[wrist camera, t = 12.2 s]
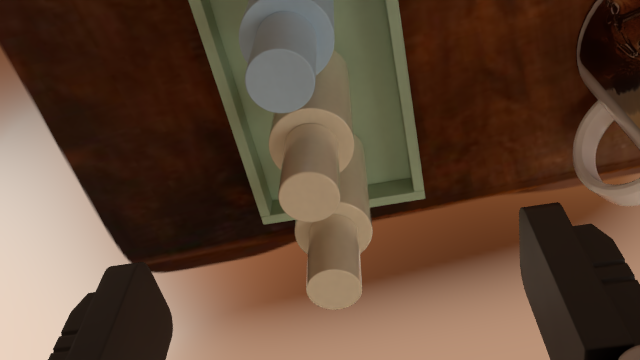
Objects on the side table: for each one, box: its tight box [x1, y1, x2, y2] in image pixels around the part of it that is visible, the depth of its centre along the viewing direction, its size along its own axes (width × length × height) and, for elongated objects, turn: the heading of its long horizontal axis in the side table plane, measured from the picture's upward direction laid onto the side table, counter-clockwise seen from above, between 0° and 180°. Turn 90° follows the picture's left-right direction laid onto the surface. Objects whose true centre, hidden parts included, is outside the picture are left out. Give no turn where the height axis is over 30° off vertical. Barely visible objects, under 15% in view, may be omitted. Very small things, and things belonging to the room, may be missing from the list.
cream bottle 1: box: [269, 50, 355, 222], centre depth 32 cm, size 4×4×13 cm
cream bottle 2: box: [295, 134, 372, 310], centre depth 35 cm, size 4×4×13 cm
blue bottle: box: [239, 0, 335, 113], centre depth 29 cm, size 4×4×13 cm
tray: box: [188, 0, 425, 224], centre depth 37 cm, size 19×11×2 cm, turn 12°
